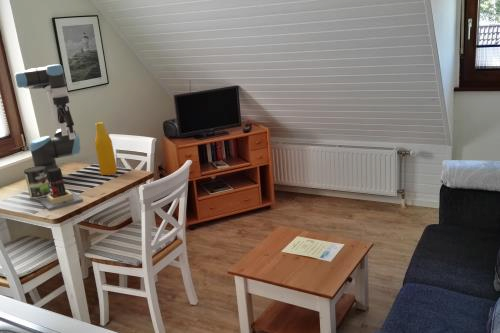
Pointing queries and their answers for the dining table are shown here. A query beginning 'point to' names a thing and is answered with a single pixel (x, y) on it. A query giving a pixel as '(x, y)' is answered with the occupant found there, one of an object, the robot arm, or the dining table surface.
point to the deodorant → (56, 182)
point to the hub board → (60, 200)
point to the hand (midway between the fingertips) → (68, 137)
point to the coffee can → (37, 182)
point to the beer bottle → (104, 151)
